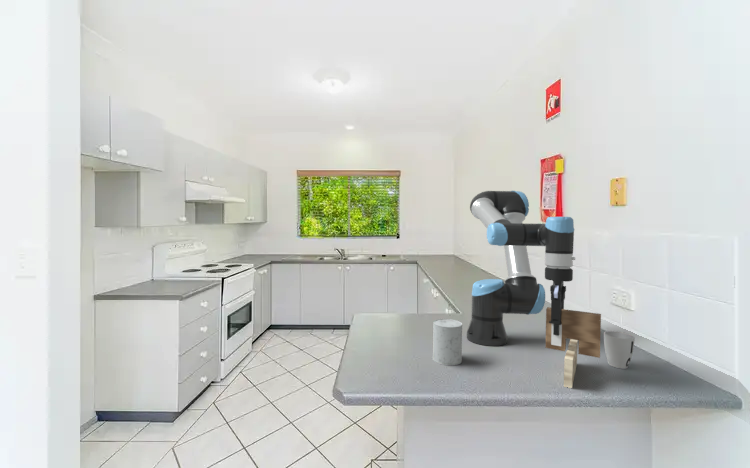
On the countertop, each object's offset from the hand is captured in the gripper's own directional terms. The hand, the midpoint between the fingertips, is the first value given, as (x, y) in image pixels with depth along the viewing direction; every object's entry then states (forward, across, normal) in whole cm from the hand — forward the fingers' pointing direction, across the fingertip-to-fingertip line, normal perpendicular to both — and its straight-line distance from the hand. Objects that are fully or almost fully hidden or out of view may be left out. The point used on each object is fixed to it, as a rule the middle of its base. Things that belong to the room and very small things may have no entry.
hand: (557, 343), depth 104 cm
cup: (+9, +17, -16) cm, 25 cm away
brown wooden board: (+2, 0, -4) cm, 4 cm away
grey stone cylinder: (+9, -11, +31) cm, 34 cm away
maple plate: (+9, 0, -4) cm, 10 cm away
